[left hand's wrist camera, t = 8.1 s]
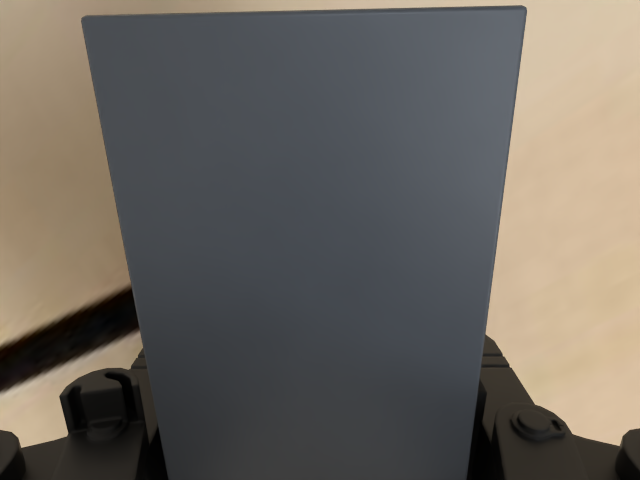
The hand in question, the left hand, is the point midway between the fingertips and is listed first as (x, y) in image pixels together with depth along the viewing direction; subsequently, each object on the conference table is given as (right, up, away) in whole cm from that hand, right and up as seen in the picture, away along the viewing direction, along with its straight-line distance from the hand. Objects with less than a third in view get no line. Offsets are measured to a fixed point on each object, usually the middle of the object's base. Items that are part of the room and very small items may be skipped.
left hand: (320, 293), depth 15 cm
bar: (0, -24, +10) cm, 27 cm away
